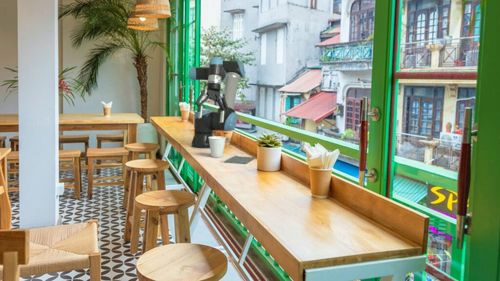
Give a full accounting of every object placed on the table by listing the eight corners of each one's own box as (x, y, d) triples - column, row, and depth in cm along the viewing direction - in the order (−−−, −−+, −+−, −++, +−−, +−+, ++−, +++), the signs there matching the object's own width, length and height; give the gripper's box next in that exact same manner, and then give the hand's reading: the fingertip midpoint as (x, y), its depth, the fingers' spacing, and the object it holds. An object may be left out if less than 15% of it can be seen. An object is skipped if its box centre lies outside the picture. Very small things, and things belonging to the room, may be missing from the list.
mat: (234, 156, 256) (234, 156, 256) (255, 158, 253) (255, 157, 253) (223, 162, 239) (223, 161, 239) (245, 164, 236) (245, 163, 236)
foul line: (231, 156, 258) (231, 155, 257) (234, 156, 257) (234, 155, 257) (220, 161, 240) (220, 160, 240) (223, 162, 240) (223, 160, 240)
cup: (227, 155, 259) (227, 136, 258) (224, 158, 249) (224, 138, 248) (210, 155, 260) (210, 136, 259) (206, 158, 250) (206, 138, 249)
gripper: (196, 77, 252) (193, 114, 248) (236, 87, 264) (233, 123, 260) (191, 80, 258) (187, 117, 254) (230, 90, 270) (227, 125, 266)
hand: (210, 120), depth 257 cm, fingers open, 13 cm apart
